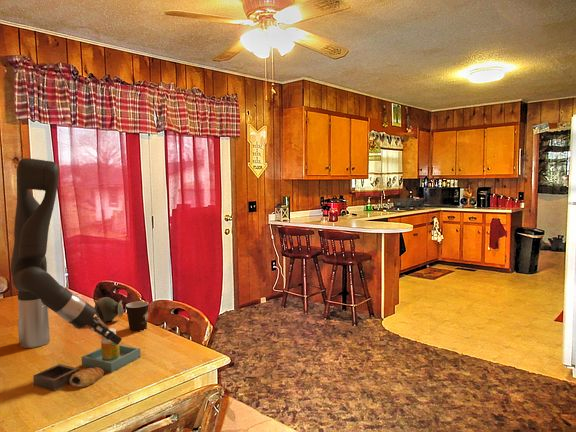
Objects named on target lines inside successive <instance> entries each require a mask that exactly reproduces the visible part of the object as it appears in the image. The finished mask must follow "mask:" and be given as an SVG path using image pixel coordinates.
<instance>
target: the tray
mask: <svg viewBox="0 0 576 432" xmlns="http://www.w3.org/2000/svg"><path fill="white" fill-rule="evenodd" d="M119 349H120V358H118V359H116V360H114V361H112V362H109V361H104V360H102V348H98V349H96V350H93V351H91V352H89V353H86V354H85V355H83V356H81V357H80V358H81V366H82V367H84V368H87V369H88V368H95V367H98V368H101V369H103V371H104V372H106V373H111V374H112V373H115V372H116V371H118V370H119V369H122V368H123V367H125V366H127V365H129V364H130V363H133V362H135V361H137V360H138V359H140V358H141V357H142V356H141V348H139V347H133V346H129V345H124V344H123V345H122V344H119Z"/></svg>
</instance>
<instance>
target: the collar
mask: <svg viewBox="0 0 576 432" xmlns="http://www.w3.org/2000/svg"><path fill="white" fill-rule="evenodd" d="M77 371H80V368H79V367H74V366H70V365H65V364H61V363H58V364H56V365H54V366H52V367H49V368H47V369H45V370H43V371H40V372H38V373H35V374H34V375H32V377H33V386H35V387H37V388H41V389H45V390H48V391H53V392H56V391H58V390H59V389H61V388H64V387H65V386H67V385H69V384H70V382H69V380H70V378H71V376H72V374H74V373H75V372H77Z"/></svg>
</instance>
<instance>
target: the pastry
mask: <svg viewBox="0 0 576 432" xmlns="http://www.w3.org/2000/svg"><path fill="white" fill-rule="evenodd" d="M104 374H105V371H103V369H101V368H98V367H95V368H88V367H87V368H83V369H79V371H77V372H75V373H74V374H72V376H71V378H70V380H69V382H70V383H69V384H70V385H71V386H72V387H78V388H85V387H88V386H90V385H91V384H95V383H96V382H98V381H99V380H101V379H102V378H103V377H104Z"/></svg>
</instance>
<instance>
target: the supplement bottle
mask: <svg viewBox="0 0 576 432" xmlns="http://www.w3.org/2000/svg"><path fill="white" fill-rule="evenodd" d="M109 330H111V331H113V333H114V334H116V335H117V330H116V328H112V327H111V328H109ZM108 333H109V332H108V331H107V332H106V333H105V335H106V336H107V335H108ZM119 345H120V343H119V344H115V343H114V342H112V341H111V340H108V339H106V338H105V337H103V336H102V337H101V339H100V347H101V348H102V360H104V361H109V362H112V361H114V360H116V359H118V358H120V349H119Z"/></svg>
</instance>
